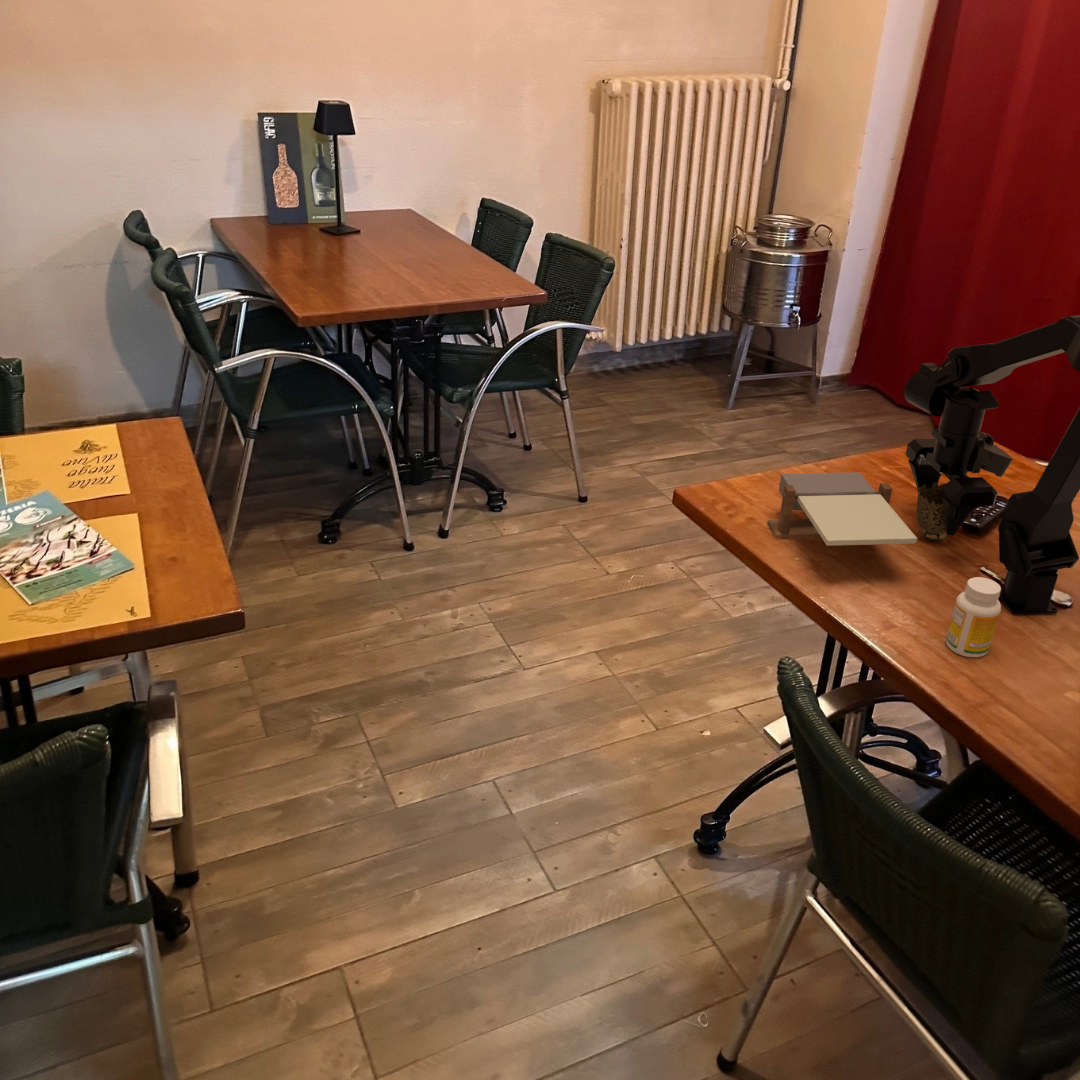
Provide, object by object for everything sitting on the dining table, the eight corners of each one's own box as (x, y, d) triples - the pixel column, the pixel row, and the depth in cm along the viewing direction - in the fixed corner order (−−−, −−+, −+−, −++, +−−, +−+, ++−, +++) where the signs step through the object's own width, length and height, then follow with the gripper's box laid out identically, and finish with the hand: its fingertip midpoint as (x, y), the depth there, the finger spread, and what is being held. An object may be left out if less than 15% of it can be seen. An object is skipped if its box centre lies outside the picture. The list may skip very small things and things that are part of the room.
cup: (926, 552, 151) (937, 506, 147) (898, 530, 157) (908, 485, 153) (968, 546, 153) (979, 500, 149) (939, 524, 159) (949, 480, 155)
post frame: (887, 536, 155) (897, 488, 151) (775, 538, 154) (783, 490, 150) (875, 521, 160) (885, 474, 156) (767, 523, 158) (773, 476, 154)
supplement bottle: (938, 647, 129) (954, 585, 124) (955, 630, 132) (971, 569, 128) (979, 664, 126) (996, 601, 121) (995, 646, 129) (1013, 584, 125)
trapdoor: (912, 559, 141) (917, 538, 139) (824, 561, 140) (827, 540, 139) (856, 488, 161) (860, 470, 159) (778, 490, 160) (781, 471, 158)
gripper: (1044, 452, 138) (1016, 548, 146) (982, 403, 154) (960, 492, 162) (967, 454, 137) (944, 550, 145) (913, 405, 154) (895, 494, 161)
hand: (937, 520), depth 153 cm, fingers open, 9 cm apart
